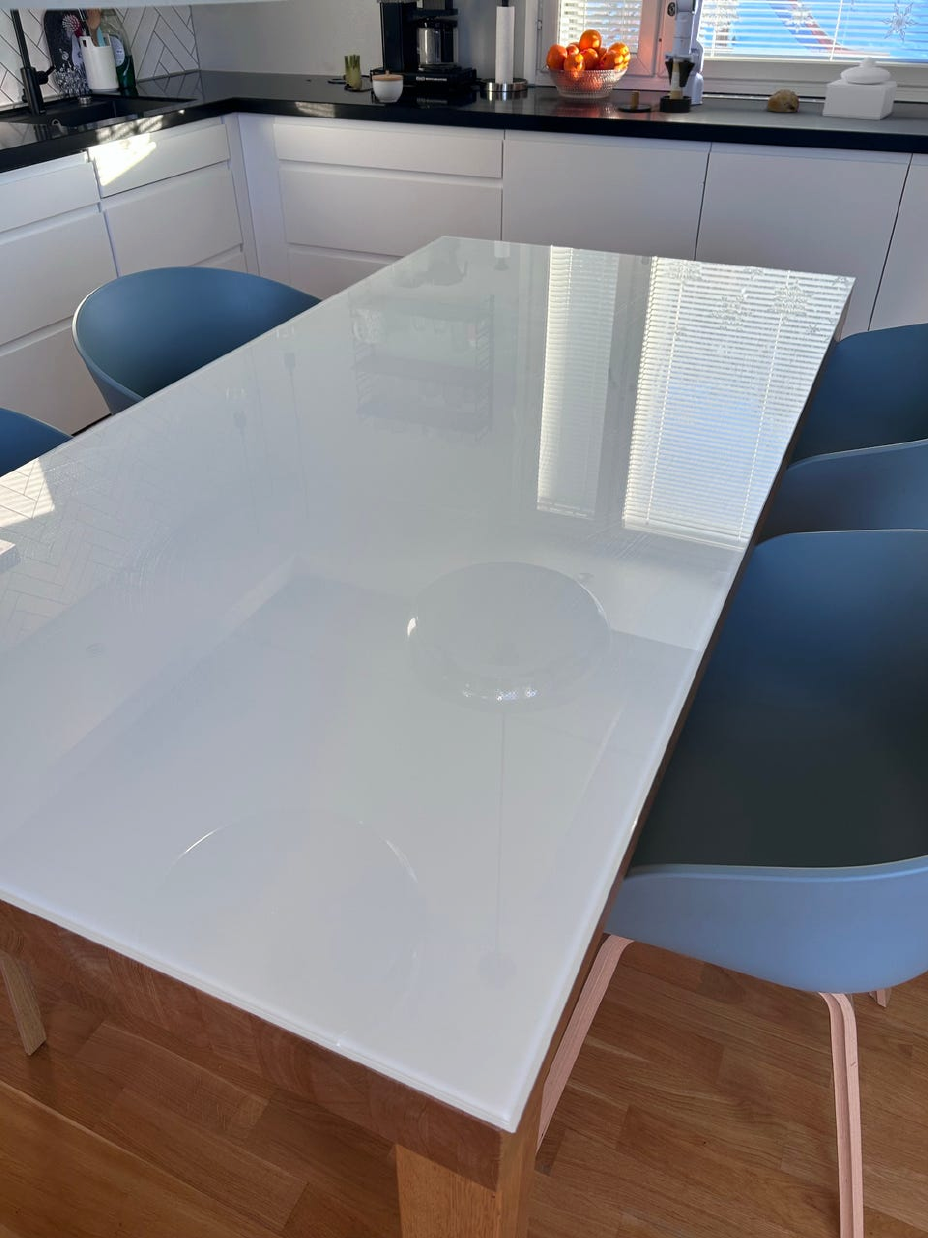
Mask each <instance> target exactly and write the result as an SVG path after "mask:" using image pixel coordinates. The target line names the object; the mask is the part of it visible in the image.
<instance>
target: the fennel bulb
mask: <svg viewBox="0 0 928 1238" xmlns="http://www.w3.org/2000/svg"><path fill="white" fill-rule="evenodd" d="M344 68H345V69H344V70H345V71H344V72H345V83H346V85H347V84H349V86H351V87H353V88H348V87H347V90H348V91H352V90H359V91H361V90H362V88H361V87H363V75H362V70H361V55H359V54H356V53H353V54H349V56H348V55H344ZM354 88H356V89H354Z"/></svg>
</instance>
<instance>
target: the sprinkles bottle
mask: <svg viewBox="0 0 928 1238" xmlns="http://www.w3.org/2000/svg"><path fill="white" fill-rule="evenodd" d="M684 60H685V59H683V58H681V57H674V58H673V61H674V62H673V71H672V79H671V86H670V89H669V90H670V91H669V95H670V99H683V91H684V87H679V77H680V72H679V65H678V62H683V61H684Z"/></svg>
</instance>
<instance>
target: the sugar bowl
mask: <svg viewBox="0 0 928 1238" xmlns="http://www.w3.org/2000/svg"><path fill="white" fill-rule="evenodd" d="M371 78H372V87H373V92H374V95H375V97H376V98H377V99H378V100H379V102H380V103H397V102H398V100H399V98H400V97H401V95H402V93H403V90H404V89H403V88H404V83H403V82H404V76H403V75H401V74H390V71H389V70H385V74H376V75H372V77H371Z"/></svg>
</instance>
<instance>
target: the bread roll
mask: <svg viewBox="0 0 928 1238" xmlns="http://www.w3.org/2000/svg"><path fill="white" fill-rule="evenodd" d="M765 104H767V106H766V109H767V112H770V113H781V114H782V113H783V114H785V113H786V114H787V113H796V112H798V110H799V108H800V99H799V96H798V95H797V94H796V93H795V91H793V90H792V91H791V90H789V89H780V90H778V91H776V92H774V93H773V94H772V95H771V96H770V97H769V99H768V100H767V101H766V102H765Z"/></svg>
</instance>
